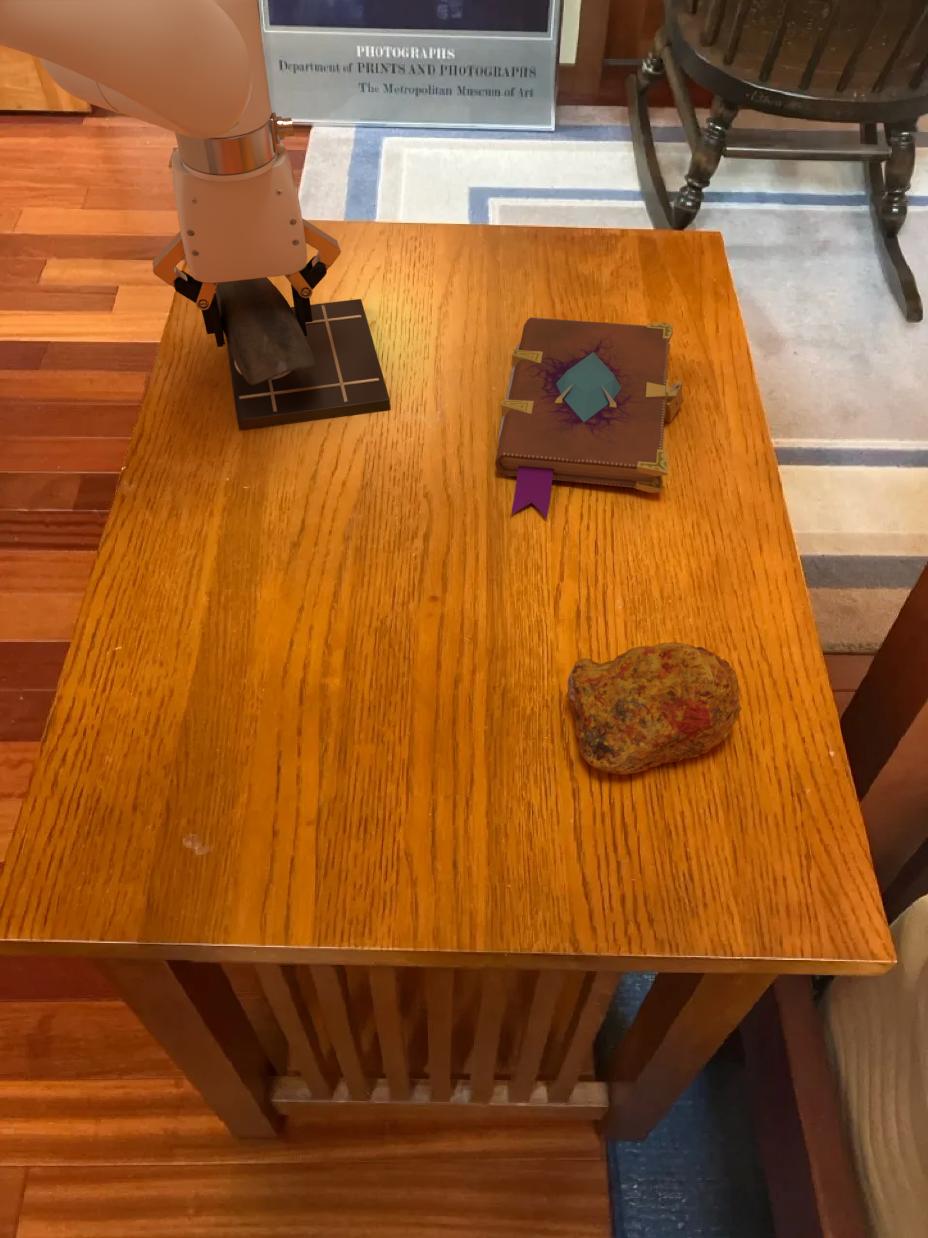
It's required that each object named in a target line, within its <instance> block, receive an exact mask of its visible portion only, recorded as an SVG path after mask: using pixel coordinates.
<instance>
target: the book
mask: <svg viewBox="0 0 928 1238" xmlns="http://www.w3.org/2000/svg"><path fill="white" fill-rule="evenodd" d="M673 332H674V325H673V324H671V323H667V322H665V321H664V322H651V323H650V322H647V324H646V325H643V324H628V323H617V322H616V323H615V322H604V321H603V322H602V321H590V320H589V321H587V320H574V319H559V318H558V319H557V318H548V317H547V318H546V317H545V318H544V317H532V316H531V317H529V318H528V319H527V320H526V321H525V322H524V324H523V327H522V333H521V338H520V341H519V342H518V344H517V347H516V349H512V354H511V373H510V378H509V382H508V387H507V391H506V395H505V396H506V397H505V399H502V401H501V405H500V406H501V408H500V409H501V410H500V411H501V412H500V413H501V420H500V424H499V428H498V429H499V430H498V440H497V444H498V447H497V451H496V456H495V464H494V466H495V468H496V469H497V471H498V472H499V473H500V474H501V475H502V476H508V477H509V476H510V477H516V482H515V488H514V496H513V502H512V507H511V513H510V515H513V514H516V513H517V512H518V511H520V510H522V509H524V508H525V507H528V506H529V505H530V504H532V506H534V507H535V508H536V509H537V510H538V511H539V512H540V513H541V514H542V515H543V516H544V517H545V518H546V519H548V514H549V507H550V500H551V493H552V486H553V481H561V482H562V481H563V482H573V483H581V484H582V483H584V484H593V485H601V486H602V485H604V486H614V487H625V488H633V489H636V490H639V491H642V492H647V493H650V494H656V493H662V492H663V483H664V482H663V481H664V480H663V477H664V476H668V475H669V458H668V453H667V450H666V449H663V447H664V429H665V428H664V427H665V422H666V423H669V424H671V422H672V421H673V419H674V418H675V416H676V415H677V412H678V411H679V409H680V408H681V406H682V404H683V402H684V398H683V381H681V380H678V379H677V380H676V381H675V383H674V385H672V386H669V383H670V380H669V379H667V374H668V357H669V355H670V349H671V343H670V341H671V339H672V336H673Z"/></svg>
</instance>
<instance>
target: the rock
mask: <svg viewBox="0 0 928 1238" xmlns="http://www.w3.org/2000/svg"><path fill="white" fill-rule="evenodd" d="M736 672H737V671H736V670H734V669H733V667H732V666H731V665H730V663H729V662H728V661H727V660H726V659H725V658H721V656H720V655H718V654H716V653H715V652H713V651H712V650H708V649H707V648H705V647H703V646H697V647H695V645H692V644H686V643H681V642H673V641H671V642H661V643H658V644H655V645H652V646H651V645H649V646H647V645H643V646H636V647H633V648H629V649H628V650H627V651H625V652H623V653H621V654H619V655H617V656H616V657H615V658H614V659H613V660H608V661H605V662H602V663H599V662H596V661H594V660H592V659H590V658H588V657H587V658H586V657H585V658H581V659H579V660H577V661H575V663H574V665H573V667H572V669H571V671H570V673H569V675H568V678H567V692H566V697H567V698H568V700H569V702H570V704H571V706H572V714H573V716H574V717H575V733H574V734H575V736H576V738H578V739H579V747H578V752H579V754H580V755H581V756H582V758H583V759H584V760H585V762H586V763H587V764H588V765H589V766H591V767H592V768H594V769H596V770H598V771H602V772H604V773H609V774H615V775H617V774H618V775H623V776H624V775H631V774H636V773H641V772H646V771H648V770H650V768H657V767H658V766H660V765H662V764H669V763H673V762H680V761H682V760H684V759H692V758H697V757H698V756H699V755H702V754H706V753H708V752H709V751H710V750H712V749H713V748H714V747H716V746H717V745H720V744H721V743H722V742H724V741H725V739H726V738H727V737H728V735H729V734H730V733H731V731H732V729H733V726H734V725H736V723H737V721H738V719H739V715H740V712H741V711H742V709H743V708H742V707H741V705H740V701H741V698H740V688H739V679H738V678H737V676H738V675H737V673H736Z"/></svg>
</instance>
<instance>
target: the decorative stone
mask: <svg viewBox="0 0 928 1238" xmlns="http://www.w3.org/2000/svg"><path fill="white" fill-rule="evenodd" d="M215 293H216V297H217V302H218V307H219V311H220V316H221V321H222V326H223V332H224V338H225V341H226V340H227V342H228V345H229V348H230V350H231V353H232V355H233V358H234V360H235V362H236V364H237V366H238V368H239V370H240V372H241V373H242V375H243V377H244V378H245V379H246V381H247V382H248V383H249V384H250V385H257V384H260V383H262V382H265V381H267V380H269V379H271V378H273V377H276V376H278V375H280V374H283V373H286V372H290V371H293V370H298V369H310V368H315V367H316V361H315V359H314V356H313V354H312V351H311V349H310V346H309V344H308V342H307V339H306V337H305V335H304V333H303V331H302V329H301V327H300V325H299V323H298V320H297V318H296V316H295V314H294V312H293V310H292V309H291V307H292V306H291V305H290V303H289V302H288V300H287V299H286V297H285V296H284V295H283V294H282V292H281V291H280V290H279V289H278V287H277V286H276V285H274V283H273V282H272V281H271V280H270V278H269V277H266V278H257V279H248V280H239V281H230V282H220V283H218V285H217V288H216V290H215ZM227 342H226V343H227Z"/></svg>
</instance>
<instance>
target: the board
mask: <svg viewBox="0 0 928 1238" xmlns="http://www.w3.org/2000/svg"><path fill="white" fill-rule="evenodd" d="M310 305H311V313H312V321H313V322H307V323H306V330H307V336H305V337H306V339H307V342H308V344H309V346H310V349H311V351H312V354H313V356H314V359H315V361H316V367H315V368H310V369H298V370H293V371H290V372H286V373H283V374H280V375H278V376H276V377H273V378H271V379H269V380H267V381H265V382H262V383H260V384H257V385H250V384H249V383H248V382H247V381H246V379H245V378H244V377H243V375H242V373H241V372H240V370H239V368H238V366H237V364H236V362H235V360H234V358H233V355H232V353H231V350H230V348H229V345H228V342H227V340H226V339H225V343H226V348H227V357H228V364H229V371H230V378H231V379H230V380H231V385H232V394H233V402H234V408H235V415H236V416H235V417H236V423H237V427H238V430H239V431H244V430H252V429H258V428H267V427H274V426H281V425H289V424H295V423H302V422H309V421H317V420H323V419H331V418H340V417H345V416H347V417H348V416H353V415H360V414H362V415H363V414H367V413H368V414H369V413H375V412H382V411H389V410H390V411H391V400H390V396H389V392H388V389H387V385H386V381H385V378H384V374H383V372H382V367H381V365H380V364H381V363H380V361H379V357H378V354H377V349H376V346H375V343H374V339H373V336H372V331H371V328H370V326H369V322H368V319H367V318H368V317H367V315H366V310H365V308H364V303H363V301H362V299H361V298H357V299H348V300H339V301H330V302H322V303H314V304H313V303H312V304H310ZM290 307H291V309H292V310H293V312H294V314H295V310H294V306H290Z"/></svg>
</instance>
